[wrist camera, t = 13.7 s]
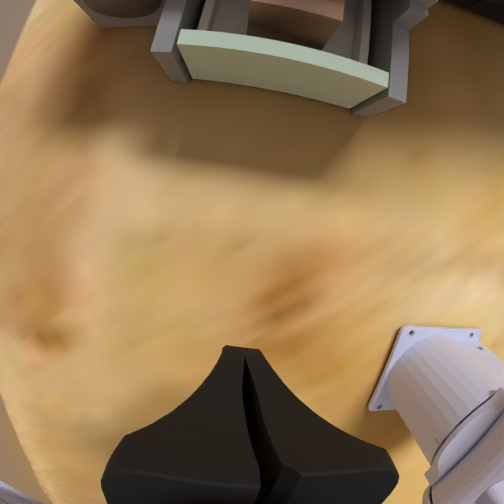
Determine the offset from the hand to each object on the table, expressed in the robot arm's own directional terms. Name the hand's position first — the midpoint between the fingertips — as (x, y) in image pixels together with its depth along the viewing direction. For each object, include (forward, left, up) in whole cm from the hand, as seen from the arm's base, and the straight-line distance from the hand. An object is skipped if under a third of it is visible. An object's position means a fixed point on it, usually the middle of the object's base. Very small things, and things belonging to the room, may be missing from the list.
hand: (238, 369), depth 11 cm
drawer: (0, -17, -8) cm, 19 cm away
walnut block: (0, -17, -7) cm, 18 cm away
